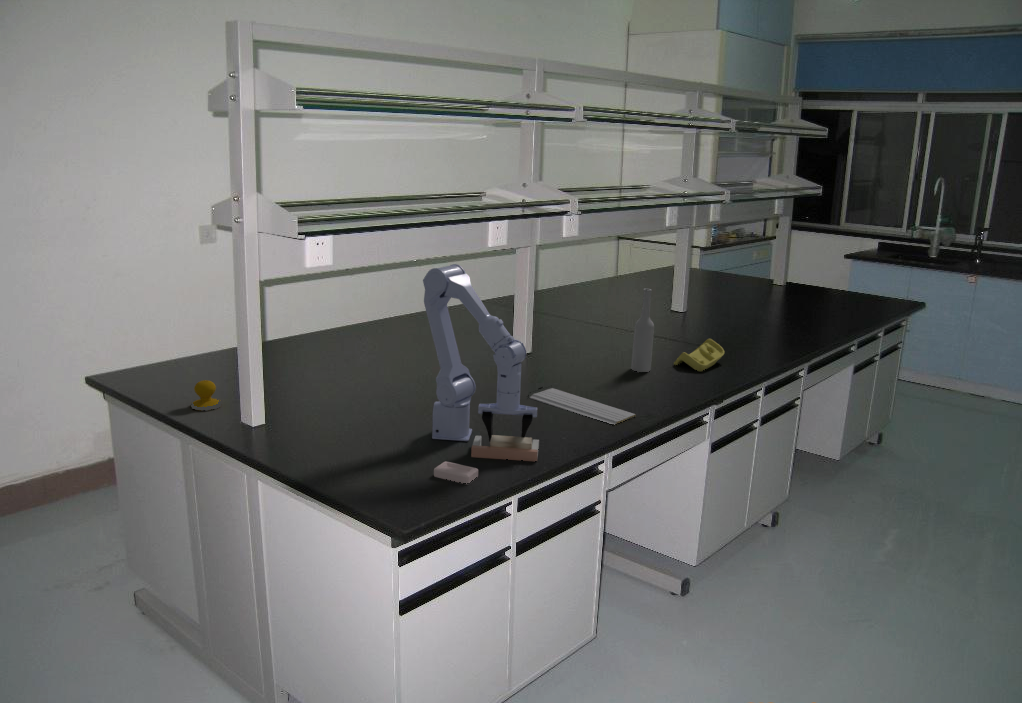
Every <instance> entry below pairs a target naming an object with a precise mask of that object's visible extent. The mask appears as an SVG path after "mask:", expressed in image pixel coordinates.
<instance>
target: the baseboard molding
mask: <svg viewBox="0 0 1022 703" xmlns="http://www.w3.org/2000/svg"><path fill="white" fill-rule="evenodd" d="M550 387H551V385H550V386H547V387H543V386H541V387H539V388H537V389H538V390H543V389H545V390H543V391H540V392H536V393H535V390H534V391H529V394H527V398H528V399H530V400H534V401H537V402H539V403H544V404H546V405H549V406H552V407H555V408H557V409H561V410H564V411H567V410H568V411H567V412H569V413H573V412H574V413H573V414H576V413H577V414H576V415H579V414H580V415H579V416H582V415H583V417H585V416H587V417H586V418H588V417H590V418H589V419H591V418H593V419H592V420H594V419H597V420H600V421H603V422H607V423H609V424H614V425H615V424H617V423H620V422H622V423H624V422H623V421H625V420H627V419H629V418H632V417H634V416H635V417H636V416H637V415H636V414H635V413H632V412H629V411H626V410H624V409H620V408H617V407H614V406H610V405H607V404H604V403H601V402H599V401H595V400H591V399H588V398H586V397H581V396H579V395H577V394H576V395H575V394H572V393H569V392H566V391H564V390H561V389H556V388H553V387H552V388H550ZM532 392H534V393H533V394H532V395H531V396H529V395H530V394H531V393H532ZM632 419H633V418H632ZM597 420H596V421H597ZM600 421H599V422H600ZM627 421H628V420H627ZM603 422H602V423H603ZM625 422H626V421H625ZM609 424H608V425H609ZM620 424H621V423H620ZM617 425H618V424H617ZM615 426H616V425H615Z"/></svg>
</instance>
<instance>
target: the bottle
mask: <svg viewBox="0 0 1022 703" xmlns="http://www.w3.org/2000/svg"><path fill="white" fill-rule="evenodd" d="M642 290H643V297H642V308H641V314H640V317H639V319H637V321H636V322H635V324H634V332H633V344H632V352H631V364H630V370H631V369H632V370H634V371H637V372H636V373H639V372H648V373H650V372H651V371H650V370H651V369H652V359H653V358H652V356H653V345H654V344H653V343H654V333H655V331H654V330H655V324H654V322H653V321H652V318H651V317H650V312H651V310H650V309H651V298H652V297H651V296H652V289H651V288H643V289H642ZM632 370H631V371H632ZM634 371H633V372H634ZM649 371H650V372H649Z"/></svg>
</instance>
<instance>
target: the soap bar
mask: <svg viewBox="0 0 1022 703" xmlns="http://www.w3.org/2000/svg"><path fill="white" fill-rule="evenodd" d="M433 476H434V478H439V479H442V480H446V479H447V480H446V481H450V480H451V482H454V481H455V483H459V482H461V483H460V484H463V483H466V484H465V485H468V484H467V483H470V482H471V481H472V480H473V481H475V480H476V479H477V478H478V477H479V469H478V467H477V468H476V467H473V466H468V465H463V464H459V463H455V462H450V461H443V462H442V463H441V464H439V465H437V466H436V467H434V469H433ZM476 477H477V478H476ZM475 478H476V479H475ZM474 479H475V480H474ZM473 481H472V482H473ZM472 482H471V483H472ZM471 483H470V484H471Z"/></svg>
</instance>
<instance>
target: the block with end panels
mask: <svg viewBox="0 0 1022 703" xmlns="http://www.w3.org/2000/svg"><path fill="white" fill-rule="evenodd" d="M482 439H483V438H482V435H475V437H474V439H473V442H472V445H471V450H470V451H471V453H470V454H471V455H470V457H471V458H479V459H492V460H506V459H508V460H511V461H521V460H523V462H535V461H537V462H538V456H539V450H538V449H539V448H540V439H536V438H535V439H533V438H532V449H521V448H506V447H491V446H490V445H488V446H487V445H482ZM508 460H507V461H508Z"/></svg>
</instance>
